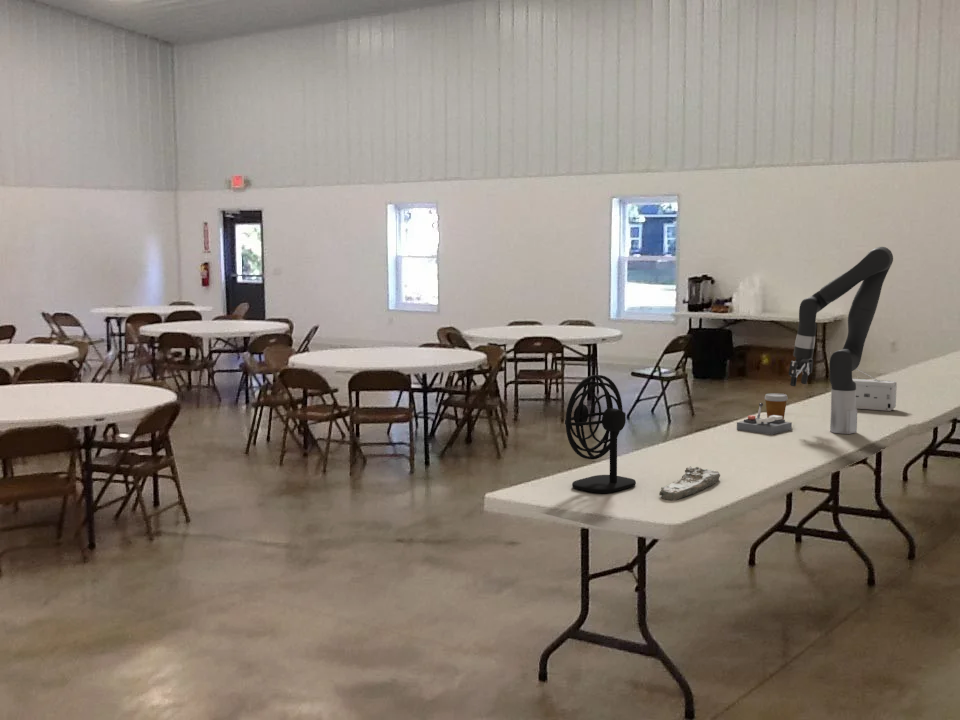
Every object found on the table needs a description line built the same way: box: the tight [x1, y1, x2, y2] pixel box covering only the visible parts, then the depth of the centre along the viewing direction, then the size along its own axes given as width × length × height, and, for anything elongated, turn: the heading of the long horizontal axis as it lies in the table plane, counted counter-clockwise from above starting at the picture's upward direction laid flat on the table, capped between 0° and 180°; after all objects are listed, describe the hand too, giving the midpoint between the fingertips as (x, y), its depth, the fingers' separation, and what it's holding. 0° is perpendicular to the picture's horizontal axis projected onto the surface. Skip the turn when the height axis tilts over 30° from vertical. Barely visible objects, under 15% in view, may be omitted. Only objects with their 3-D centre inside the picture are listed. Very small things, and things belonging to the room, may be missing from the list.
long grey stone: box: [659, 466, 721, 501], centre depth 317 cm, size 35×5×10 cm
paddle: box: [769, 415, 783, 420], centre depth 415 cm, size 4×4×1 cm
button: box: [747, 414, 756, 420], centre depth 416 cm, size 3×3×1 cm
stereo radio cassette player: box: [852, 368, 898, 412], centre depth 463 cm, size 21×8×20 cm, turn 58°
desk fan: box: [564, 374, 637, 494], centre depth 319 cm, size 27×18×35 cm, turn 134°
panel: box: [736, 417, 793, 435], centre depth 415 cm, size 16×15×4 cm
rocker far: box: [756, 417, 775, 424], centre depth 410 cm, size 6×4×2 cm, turn 43°
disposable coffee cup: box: [764, 392, 789, 420], centre depth 430 cm, size 10×10×12 cm
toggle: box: [756, 402, 764, 419], centre depth 423 cm, size 2×2×7 cm
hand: (798, 384), depth 415 cm, fingers open, 8 cm apart
